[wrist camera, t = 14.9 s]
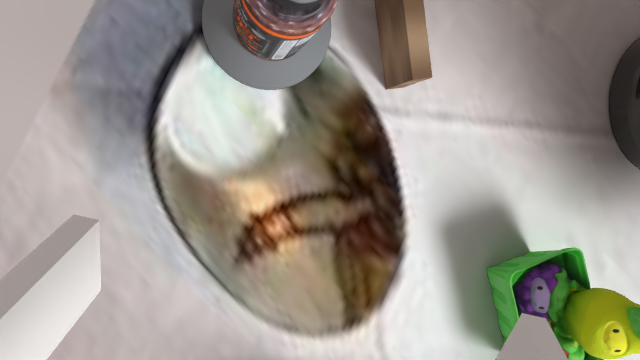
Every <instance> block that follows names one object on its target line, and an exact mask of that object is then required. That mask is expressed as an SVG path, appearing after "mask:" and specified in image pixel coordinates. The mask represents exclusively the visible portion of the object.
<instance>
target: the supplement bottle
mask: <svg viewBox="0 0 640 360" xmlns="http://www.w3.org/2000/svg"><path fill="white" fill-rule="evenodd" d="M336 4H337V0H235V2H234V6H233V15H232V17H233V26H234V30H235V34H236V36H237V38H238V40H239V42H240V43H241V44H242V46H243V47H244V48H245V49H246V50H247V51H248V52H250V53H251V54H252V55H254V56H256V57H258V58H259V59H263V60H267V61H279V60H285V59H287V58H290V57H291V56H293V55H294V54H296V53H297V52H298V51H299V50H300V49H301V48H302V47H303V46H304V45H305V44H306V43H307V42H308V41H309V40H310V39H311V38H312V37H313V35H314V34H315V33H316V32H317V31H318V30H319V29H320V28H321V27H322V26H323V25H324V24H325V23H326V21H327V20H328V19H329V18H330V16H331V15H332V13H333V11H334V9H335V7H336Z"/></svg>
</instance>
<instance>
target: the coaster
mask: <svg viewBox="0 0 640 360" xmlns="http://www.w3.org/2000/svg"><path fill="white" fill-rule="evenodd" d="M234 2H235V0H204V2H203V7H202V29H203V34H204V38H205V41H206V44H207V47H208V49H209V51H210V53H211V55H212V56H213V58H214V60H215V61H216V62H217V63H218V65H219V66H220V67H221V68H222V69H223V70H224V71H225V72H226V73H227V74H228V75H230V76H231V77H232V78H234V79H235V80H237V81H239V82H241V83H242V84H245V85H247V86H250V87H254V88H257V89H264V90H276V89H283V88H287V87H290V86H292V85H295V84H297V83H299V82H300V81H302V80H304V79H305V78H306V77H308V76H309V75H310V74H311V73H312V72H313V71H314V70H315V69H316V68H317V67H318V66H319V64H320V63H321V61H322V60H323V58H324V56H325V54H326V52H327V49H328V46H329V42H330V37H331V19H330V18H329V19H328V20H327V21H326V23H325V24H324V25H323V26H322V27H321V28H320V29H319V30H318V31H317V32H316V33H315V34H314V35H313V37H312V38H311V39H310V40H309V41H308V42H307V43H306V44H305V45H304V46H303V47H302V48H301V49H300V50H299V51H298V52H297V53H296V54H294V55H293V56H291V57H290V58H287V59H285V60H279V61H267V60H263V59H259V58H258V57H256V56H254V55H252V54H251V53H250V52H248V51H247V50H246V49H245V48H244V47H243V46H242V44H241V43H240V42H239V40H238V38H237V36H236V34H235V30H234V26H233V17H232V15H233V6H234Z"/></svg>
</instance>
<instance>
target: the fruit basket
mask: <svg viewBox="0 0 640 360" xmlns="http://www.w3.org/2000/svg"><path fill="white" fill-rule="evenodd" d="M487 274H488V278H489V282H490V285H491V286H492V288H493V289H492V295H493V300H494V304H495V308H496V309H497V311H498V322H499V326H500V330H501V333H502V335H503V336H504V337H503V343H504V344H505V342H506V340H507V338H508V337H509V335H510V333H511V331H512V330H513V328H514V326H515V325H516V323H517V321H518V319H519V318H520V316H521V314H522V313H524V314H528V315H533V316H537V317H542V318H546V319H547V321H548V323H549V325H550V327H551V329H552V331H553V332H554V334H555V336H556V338H557V340H558V342H559V344H560V345H561V347H562V349H563V351H564V353H565V355H566V357H567V358H568V360H604V359H618V358H622V357H625V356H628V355H631V354H637V353H640V305H638V304H636V303H634V302H632V301H631V300H629V299H628V298H626V297H625V296H623V295H621V294H619V293H617V292H615V291H612V290H608V289H603V288H592V289H591V288H590V283H589V279H588V274H587V269H586V264H585V260H584V256H583V253H582V251H581V250H580V249H578V248H566V249H562V250H556V251H538V252H528V253H526V254H525V255H524V256H523V257H515V258H513V259H510V260H508V261H505V262H502V263H501V264H499V265H498V266H495V267H489V268H488V269H487Z"/></svg>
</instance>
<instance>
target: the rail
mask: <svg viewBox="0 0 640 360" xmlns="http://www.w3.org/2000/svg"><path fill="white" fill-rule="evenodd" d="M375 7H376V15H377V22H378V30H379V38H380V46H381V54H382V61H383V69H384V77H385V85H386V89H394V88H402V87H406V86H409V85H411V84H414V83H417V82H420V81H423V80H426V79H429V78H432V71H431V63H430V54H429V46H428V37H427V29H426V20H425V12H424V4H423V0H375Z"/></svg>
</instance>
